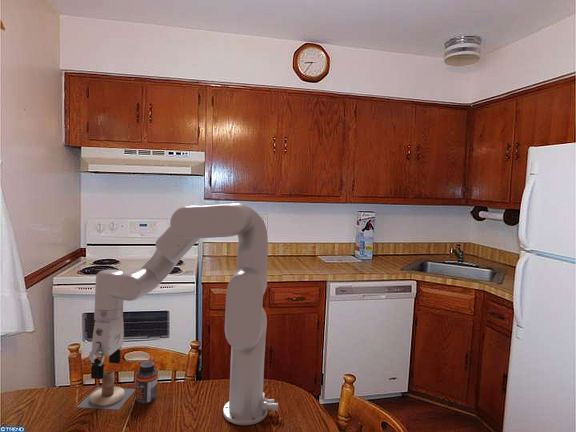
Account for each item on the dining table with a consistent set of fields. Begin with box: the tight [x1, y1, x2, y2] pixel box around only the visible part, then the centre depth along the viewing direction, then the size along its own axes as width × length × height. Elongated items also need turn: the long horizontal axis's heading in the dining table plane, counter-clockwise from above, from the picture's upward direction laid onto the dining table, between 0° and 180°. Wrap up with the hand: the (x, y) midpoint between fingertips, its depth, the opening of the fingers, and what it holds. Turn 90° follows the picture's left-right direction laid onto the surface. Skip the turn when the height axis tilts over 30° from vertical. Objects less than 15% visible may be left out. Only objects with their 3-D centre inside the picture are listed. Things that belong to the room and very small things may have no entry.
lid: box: [90, 371, 124, 406], centre depth 107 cm, size 9×9×7 cm
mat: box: [76, 386, 136, 411], centre depth 108 cm, size 12×11×1 cm
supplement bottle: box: [134, 360, 158, 404], centre depth 108 cm, size 6×6×11 cm
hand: (106, 370), depth 107 cm, fingers open, 9 cm apart
